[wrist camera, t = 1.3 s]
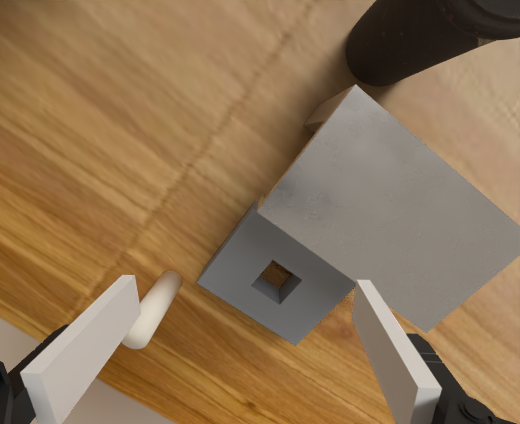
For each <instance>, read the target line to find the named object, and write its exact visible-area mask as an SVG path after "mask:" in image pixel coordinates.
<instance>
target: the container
mask: <svg viewBox="0 0 520 424" xmlns="http://www.w3.org/2000/svg"><path fill="white" fill-rule="evenodd" d="M519 37H520V0H376V1H375V2H374V3H373V5H372V6H371V7H370V8H369V9H368V10H367V11H366V12H365V14H364V15H363V16H362V17H361V18H360V20H359V21H358V22H357V23H356V25H355V26H354V27H353V29H352V31H351V33H350V35H349V38H348V41H347V47H346V57H347V62H348V65H349V68H350V70H351V71H352V73H353V74H354V75H355V76H356V77H357V78H358V79H359V80H360V81H362V82H364V83H366V84H369V85H373V86H384V85H389V84H392V83H395V82H397V81H400V80H402V79H404V78H407V77H409V76H411V75H413V74H416V73H418V72H421V71H423V70H425V69H427V68H430V67H432V66H434V65H437V64H439V63H441V62H444V61H446V60H449V59H451V58H454V57H456V56H459V55H461V54H463V53H466V52H468V51H470V50H473V49H475V48H478V47H480V46H483V45H485V44H488V43H491V42H493V41H496V40H507V39H514V38H519Z"/></svg>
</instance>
